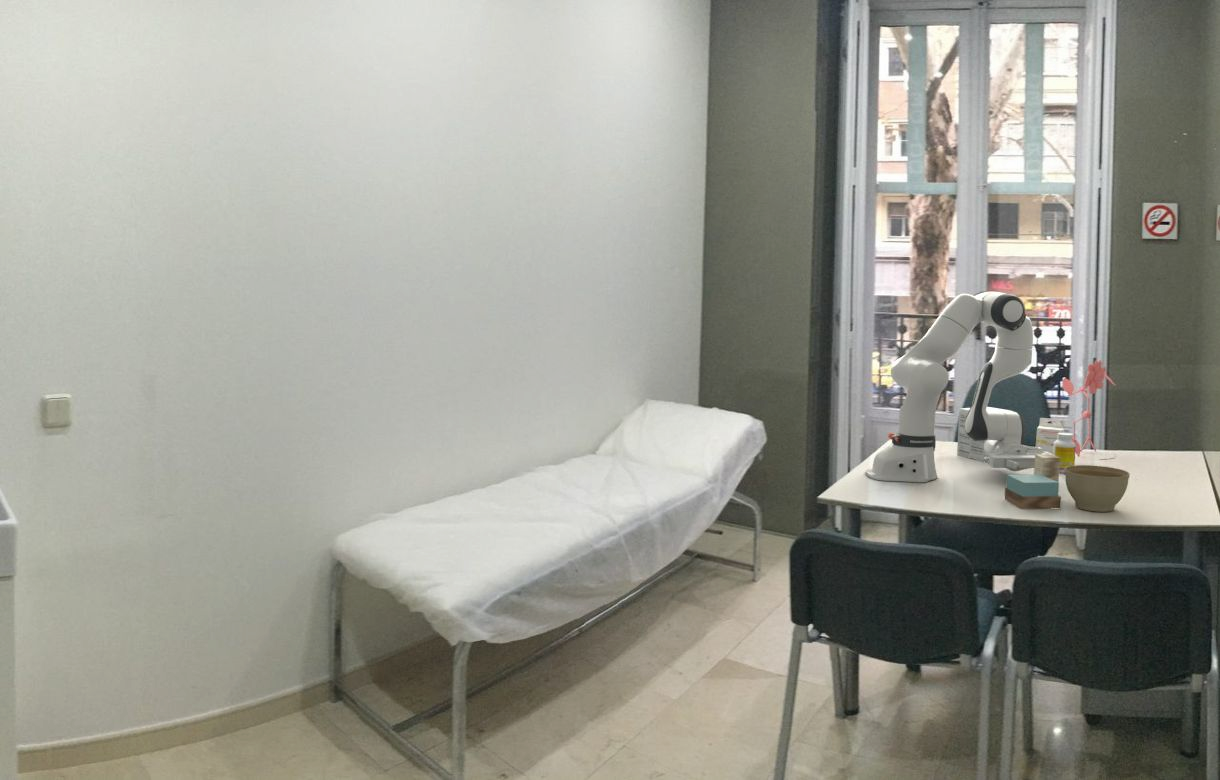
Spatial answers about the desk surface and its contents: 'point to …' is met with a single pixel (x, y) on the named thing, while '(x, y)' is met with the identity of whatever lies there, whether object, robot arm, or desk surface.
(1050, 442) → the ink cartridge box
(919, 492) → the desk surface
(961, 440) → the supplement box
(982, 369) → the robot arm
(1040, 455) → the ash pillar block
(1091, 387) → the pink flower sculpture
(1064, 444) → the supplement bottle
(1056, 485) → the teal top block
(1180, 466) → the desk surface
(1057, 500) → the walnut base block
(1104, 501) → the planter bowl
